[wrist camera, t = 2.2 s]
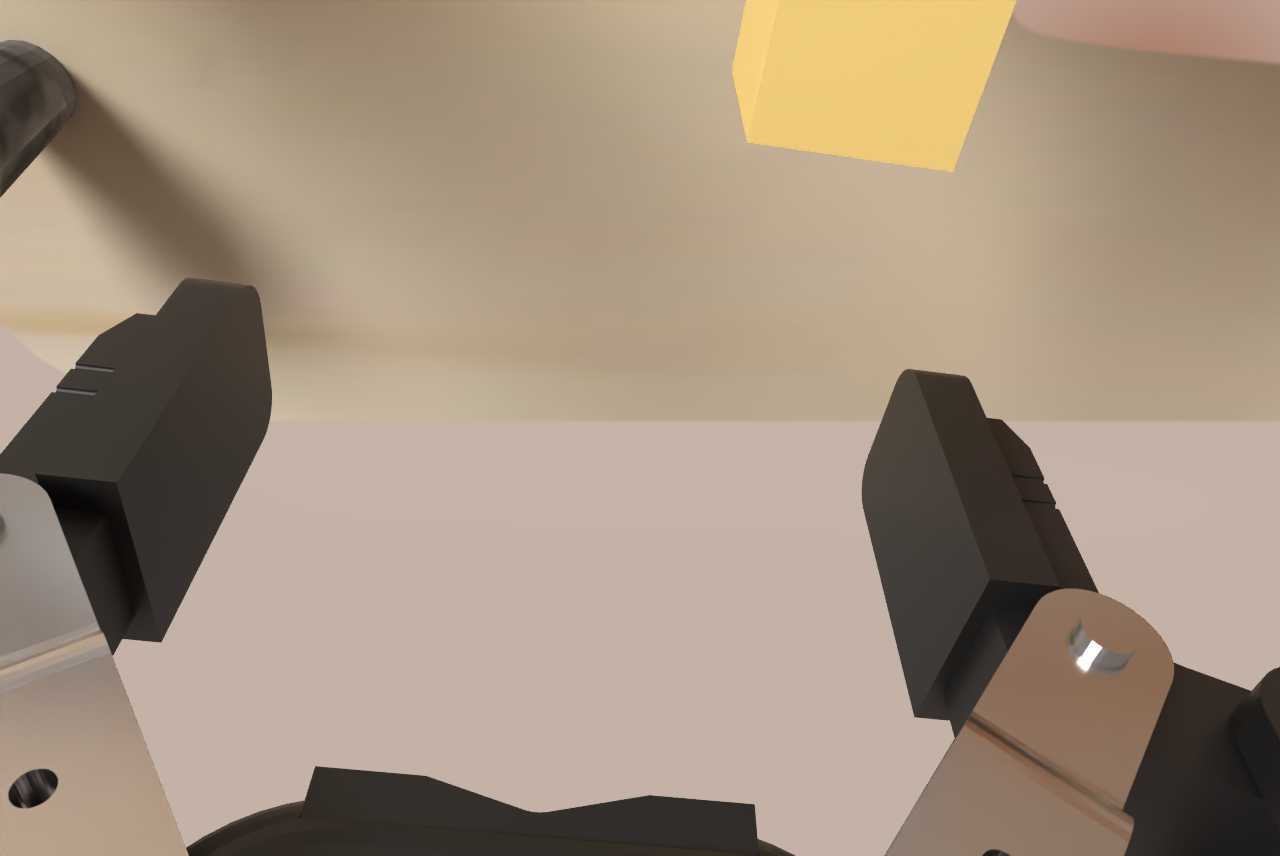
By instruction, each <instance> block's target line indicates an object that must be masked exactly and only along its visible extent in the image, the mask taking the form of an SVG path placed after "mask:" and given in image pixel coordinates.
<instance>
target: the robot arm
mask: <svg viewBox="0 0 1280 856" xmlns="http://www.w3.org/2000/svg"><path fill="white" fill-rule="evenodd" d="M271 406H272V388H271V380H270V372H269V364H268V356H267V349H266V341H265V333H264V326H263V318H262V310H261V303H260V298H259V295H258V293H257V291H256V289H255V288H254V287H253V286H250V285H242V284H234V283H226V282H218V281H210V280H202V279H194V278H187V279H185V280H183V281H182V282H181V283H180V284H179V286H178V287H177V288H176V290H175V291H174V292H173V294H172V295H171V296H170V297H169V299H168V300H167V301H166V303H165V304H164V305H163V307H162V308H161V309H160V311H159V312H158V313H157V315H156V316H155V315H147V314H138V313H137V314H135V315H133V316H131V317H130V318H128V319H126V320H124V321H123V322H121V323H119V324H118V325H116V326H114V327H112V328H111V329H109V330H107V331H105V332H104V333H102V334H100V335H99V336H98V337H97V338H96V339H95V340H94V342H93V343H92V344H91V345H90V347H89V348H88V349H87V350H86V351H85V353H84V354H83V355H82V356H81V357H80V359H79V360H78V361H77V362H76V368H75V369H71V370H70V371H69V372H68V373H67V374H66V376H65V377H64V378H63V379H62V380H61V382H60V383H59V384H58V385H57V391H56V393H53V392H52V393H51V394H50V395H49V396H48V397H47V399H46V400H45V401H44V402H43V403H42V405H41V406H40V407H39V408H38V409H37V411H36V412H35V413H34V414H33V416H32V417H31V418H30V419H29V420H28V422H27V423H26V424H25V425H24V426H23V428H22V429H21V430H20V431H19V432H18V434H17V435H16V436H15V437H14V439H13V440H12V441H11V442H10V443H9V445H8V446H7V447H6V449H5V450H4V451H3V452H2V453H1V454H0V856H795V855H793V854H791V853H789V852H786V851H784V850H783V849H781V848H778V847H776V846H774V845H772V844H769V843H767V842H764V841H761V840H759V839H757V829H756V817H755V805H754V804H743V803H732V802H720V801H708V800H696V799H685V798H673V797H662V796H651V795H649V796H643V797H637V798H631V799H624V800H618V801H612V802H606V803H600V804H594V805H588V806H582V807H576V808H570V809H564V810H558V811H551V812H544V813H543V812H542V813H538V812H530V811H526V810H523V809H519V808H517V807H514V806H511V805H508V804H505V803H502V802H500V801H497V800H493V799H491V798H488V797H485V796H482V795H479V794H477V793H474V792H471V791H468V790H465V789H462V788H459V787H456V786H453V785H450V784H448V783H445V782H442V781H439V780H436V779H433V778H430V777H427V776H420V775H409V774H397V773H386V772H373V771H362V770H351V769H339V768H328V767H316V766H315V769H314V773H313V776H312V779H311V782H310V785H309V789H308V792H307V795H306V798H305V801H300V802H295V803H289V804H285V805H281V806H278V807H274V808H270V809H267V810H264V811H260V812H257V813H255V814H252V815H249V816H247V817H244V818H242V819H239V820H237V821H234V822H232V823H229V824H228V825H226V826H224V827H222V828H220V829H218V830H216V831H214V832H212V833H210V834H208V835H206V836H204V837H203V838H201V839H199V840H198V841H196V842H195V843H193V844H192V845H190V846H188V847H187V848H186V847H185V844H184V842H183V839H182V836H181V834H180V831H179V829H178V826H177V823H176V821H175V818H174V816H173V813H172V810H171V808H170V805H169V802H168V800H167V797H166V795H165V792H164V789H163V787H162V784H161V782H160V779H159V776H158V774H157V771H156V769H155V766H154V764H153V761H152V758H151V755H150V753H149V750H148V748H147V745H146V742H145V740H144V737H143V735H142V732H141V729H140V727H139V724H138V722H137V719H136V717H135V714H134V711H133V709H132V706H131V703H130V701H129V698H128V695H127V693H126V690H125V688H124V685H123V683H122V680H121V678H120V675H119V672H118V670H117V668H116V664H115V662H114V659H113V655H114V653H115V651H116V649H117V647H118V645H119V644H120V642H121V640H122V639H132V640H141V641H152V642H162V640H163V638H164V636H165V634H166V632H167V630H168V628H169V626H170V624H171V622H172V620H173V618H174V616H175V614H176V612H177V610H178V608H179V606H180V604H181V602H182V600H183V598H184V596H185V594H186V592H187V590H188V588H189V586H190V584H191V582H192V580H193V578H194V576H195V574H196V572H197V570H198V568H199V566H200V564H201V562H202V560H203V558H204V556H205V554H206V552H207V550H208V548H209V546H210V544H211V542H212V540H213V539H214V537H215V535H216V533H217V531H218V529H219V527H220V525H221V523H222V521H223V519H224V517H225V515H226V513H227V511H228V509H229V507H230V505H231V503H232V501H233V499H234V497H235V495H236V493H237V491H238V489H239V487H240V485H241V483H242V481H243V479H244V477H245V475H246V473H247V471H248V469H249V467H250V465H251V463H252V461H253V459H254V457H255V455H256V453H257V451H258V449H259V447H260V445H261V443H262V441H263V439H264V437H265V434H266V432H267V428H268V424H269V420H270V414H271ZM1043 481H1044V477H1043V475H1042V472H1041V471H1040V468H1039V466H1038V464H1037V462H1036V460H1035V458H1034V456H1033V453H1032V452H1031V449H1030V448H1029V447H1028V446H1027V445H1026V444H1025V443H1024V442H1023V441H1022V440H1021V439H1020V438H1019V437H1018V436H1017V435H1016V434H1015V433H1014V432H1013V431H1012V430H1011V429H1010V428H1009V427H1008V426H1007V425H1006V424H1005V423H1004V422H1003V421H1002V420H1000V419H992V418H986V416H985V413H984V411H983V409H982V407H981V404H980V402H979V400H978V397H977V395H976V393H975V391H974V388H973V386H972V384H971V382H970V380H969V379H968V378H967V377H965V376H961V375H953V374H945V373H937V372H929V371H921V370H913V369H907V370H905V371H904V372H903V373H902V374H901V375H900V377H899V378H898V380H897V382H896V385H895V387H894V390H893V393H892V395H891V398H890V400H889V403H888V406H887V408H886V411H885V413H884V416H883V419H882V421H881V424H880V427H879V429H878V432H877V434H876V437H875V440H874V442H873V445H872V447H871V450H870V453H869V455H868V458H867V461H866V464H865V468H864V474H863V481H862V503H863V509H864V513H865V517H866V521H867V525H868V529H869V534H870V537H871V542H872V546H873V550H874V554H875V558H876V562H877V566H878V570H879V574H880V578H881V583H882V587H883V591H884V595H885V599H886V603H887V607H888V611H889V615H890V619H891V623H892V627H893V631H894V636H895V640H896V643H897V648H898V652H899V656H900V660H901V664H902V668H903V672H904V676H905V680H906V684H907V689H908V693H909V696H910V701H911V705H912V709H913V713H914V717H919V718H929V719H939V720H950V722H951V725H952V730H953V733H954V737H955V739H954V741H953V743H952V744H951V746H950V747H949V749H948V751H947V752H946V754H945V756H944V757H943V759H942V761H941V763H940V764H939V766H938V767H937V769H936V771H935V772H934V774H933V776H932V777H931V779H930V781H929V782H928V784H927V786H926V788H925V789H924V791H923V792H922V794H921V796H920V797H919V799H918V801H917V802H916V804H915V806H914V807H913V809H912V811H911V812H910V814H909V816H908V817H907V819H906V821H905V822H904V824H903V826H902V827H901V829H900V831H899V832H898V834H897V835H896V837H895V839H894V840H893V842H892V844H891V846H890V847H889V849H888V850H887V852H886V854H885V855H884V856H1280V667H1279V668H1276V669H1273V670H1272V671H1270V672H1269V673H1268V674H1267V675H1266V676H1265V677H1264V678H1263V679H1262V680H1261V681H1260V682H1259V683H1258V684H1257V685H1256V687H1255V688H1254V689H1253V690H1252V691H1249V690H1247V689H1244V688H1241V687H1239V686H1236V685H1233V684H1230V683H1227V682H1225V681H1222V680H1219V679H1216V678H1214V677H1211V676H1208V675H1205V674H1202V673H1200V672H1197V671H1194V670H1191V669H1188V668H1186V667H1183V666H1181V665H1178V664H1176V663H1173V660H1172V656H1171V653H1170V651H1169V649H1168V647H1167V645H1166V644H1165V642H1164V641H1163V639H1162V638H1161V636H1160V635H1159V634H1158V633H1157V631H1156V630H1155V629H1154V628H1153V627H1152V626H1151V625H1150V624H1149V623H1148V622H1147V621H1146V620H1145V619H1144V618H1142V617H1141V616H1140V615H1138V614H1137V613H1136V612H1135V611H1133V610H1132V609H1130V608H1128V607H1127V606H1125V605H1124V604H1122V603H1120V602H1118V601H1116V600H1114V599H1112V598H1110V597H1107V596H1105V595H1102V594H1099V592H1098V590H1097V588H1096V586H1095V584H1094V582H1093V580H1092V578H1091V576H1090V574H1089V571H1088V569H1087V567H1086V565H1085V563H1084V561H1083V559H1082V557H1081V554H1080V553H1079V550H1078V548H1077V546H1076V544H1075V542H1074V540H1073V538H1072V536H1071V533H1070V531H1069V529H1068V527H1067V525H1066V523H1065V521H1064V519H1063V517H1062V514H1061V512H1060V510H1058V509H1055V504H1056V502H1055V500H1054V498H1053V496H1052V494H1051V491H1050V490H1049V487H1048V485H1047V484H1044V483H1043Z"/></svg>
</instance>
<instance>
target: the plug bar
mask: <svg viewBox="0 0 1280 856" xmlns="http://www.w3.org/2000/svg"><path fill="white" fill-rule="evenodd" d="M1016 1H1017V0H746V3H745V8H744V13H743V18H742V23H741V28H740V33H739V38H738V42H737V47H736V52H735V57H734V62H733V67H732V73H733V78H734V83H735V88H736V93H737V97H738V102H739V107H740V112H741V116H742V121H743V126H744V131H745V135H746V140H747V143H754V144H761V145H768V146H775V147H782V148H789V149H796V150H803V151H810V152H816V153H823V154H830V155H837V156H844V157H851V158H858V159H865V160H872V161H879V162H886V163H893V164H900V165H907V166H914V167H921V168H928V169H934V170H941V171H948V172H953V170H954V168H955V165H956V162H957V160H958V157H959V154H960V152H961V149H962V146H963V144H964V141H965V138H966V136H967V133H968V130H969V128H970V125H971V122H972V119H973V117H974V114H975V111H976V109H977V106H978V103H979V101H980V98H981V95H982V93H983V90H984V87H985V85H986V82H987V79H988V77H989V74H990V71H991V69H992V66H993V63H994V60H995V58H996V55H997V52H998V50H999V47H1000V44H1001V42H1002V39H1003V36H1004V34H1005V31H1006V28H1007V26H1008V23H1009V20H1010V18H1011V15H1012V12H1013V10H1014V7H1015V4H1016Z"/></svg>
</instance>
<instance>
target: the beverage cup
mask: <svg viewBox="0 0 1280 856" xmlns="http://www.w3.org/2000/svg"><path fill="white" fill-rule="evenodd" d="M75 106H76V92H75V89H74V86H73V82H72V80H71V78H70V77H69V75H68V73H67V72H66V70H65V68H64V67H63V66H62V65H61V64H60V63H59V62H58V61H57V60H56V59H55V58H54V57H53V56H52V55H51V54H49V53H48V52H46V51H44V50H43V49H41V48H40V47H38V46H36V45H33V44H30V43H27V42H25V41H16V40H8V41H4V42H1V43H0V197H1V196H2V195H3V194H4V193H5V192H6V191H7V189H8V188H9V187H10V186H11V185H12V184H13V183H14V182H15V181H16V179H17V178H18V177H19V176H20V175H21V174H22V173H23V172H24V170H25V169H26V168H27V167H28V166H29V165H30V164H31V163H32V161H33V160H34V159H35V158H36V157H37V156H38V155H39V154H40V153H41V151H42V150H43V149H44V148H45V147H46V146H47V145H48V144H49V142H50V141H51V140H52V139H53V138H54V137H55V136H56V135H57V134H58V132H59V131H60V130H61V128H62V126H63V124H64V123H65V122H66V120H67V119H68V118H69V117H70V116H71V115H72V113H73V111H74V109H75Z"/></svg>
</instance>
